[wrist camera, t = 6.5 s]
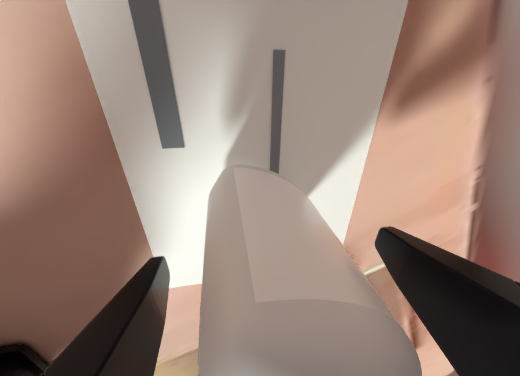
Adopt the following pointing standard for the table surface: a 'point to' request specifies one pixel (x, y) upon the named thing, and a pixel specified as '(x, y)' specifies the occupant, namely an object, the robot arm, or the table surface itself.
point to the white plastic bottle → (287, 290)
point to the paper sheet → (236, 101)
